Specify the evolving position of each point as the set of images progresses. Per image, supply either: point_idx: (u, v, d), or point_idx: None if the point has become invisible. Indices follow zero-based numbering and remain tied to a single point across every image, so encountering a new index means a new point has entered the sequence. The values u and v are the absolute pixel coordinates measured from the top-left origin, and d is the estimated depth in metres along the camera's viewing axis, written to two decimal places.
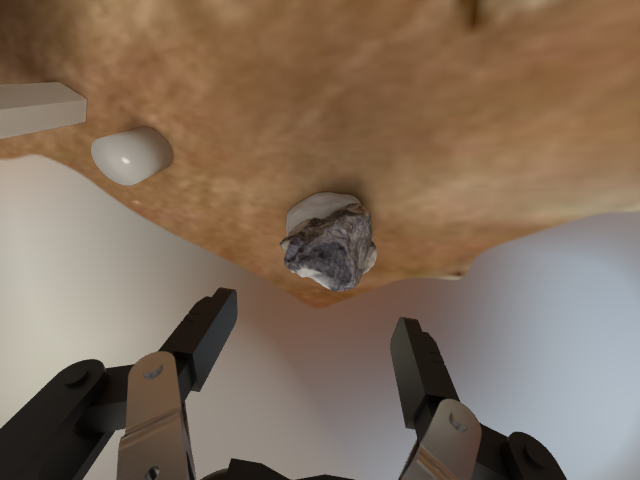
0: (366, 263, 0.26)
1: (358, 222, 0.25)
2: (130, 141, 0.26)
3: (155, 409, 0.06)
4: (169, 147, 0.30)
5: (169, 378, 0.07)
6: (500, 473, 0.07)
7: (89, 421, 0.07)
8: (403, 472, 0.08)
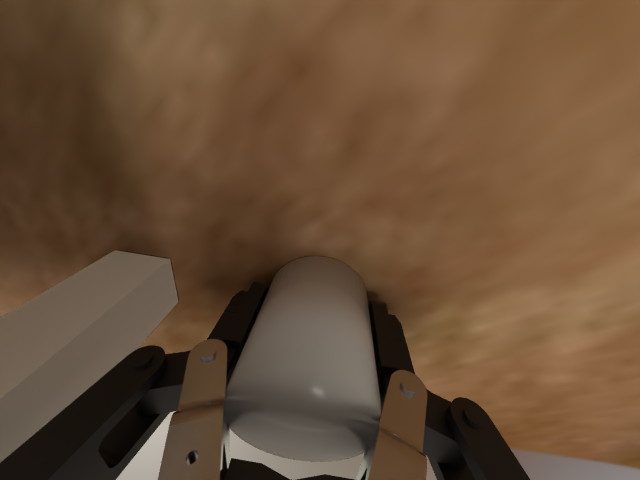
0: None
1: None
2: (320, 338, 0.08)
3: (204, 393, 0.07)
4: (360, 282, 0.12)
5: (225, 363, 0.08)
6: (441, 433, 0.07)
7: (146, 404, 0.08)
8: (367, 449, 0.08)
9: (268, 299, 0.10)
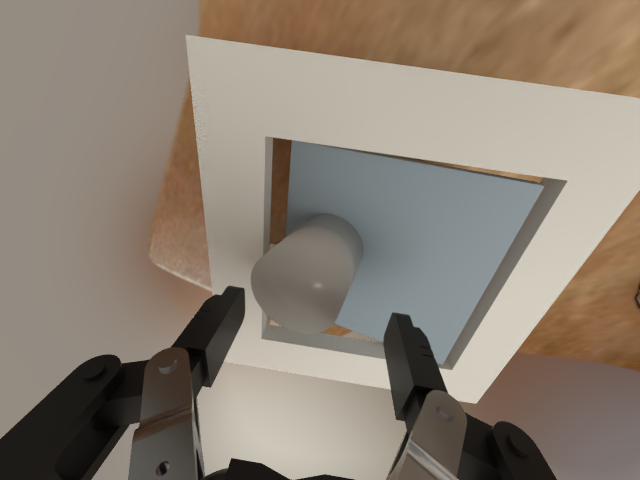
0: None
1: None
2: (309, 244, 0.12)
3: (168, 404, 0.07)
4: (357, 235, 0.16)
5: (184, 373, 0.07)
6: (484, 461, 0.07)
7: (104, 415, 0.07)
8: (394, 465, 0.08)
9: (290, 233, 0.16)
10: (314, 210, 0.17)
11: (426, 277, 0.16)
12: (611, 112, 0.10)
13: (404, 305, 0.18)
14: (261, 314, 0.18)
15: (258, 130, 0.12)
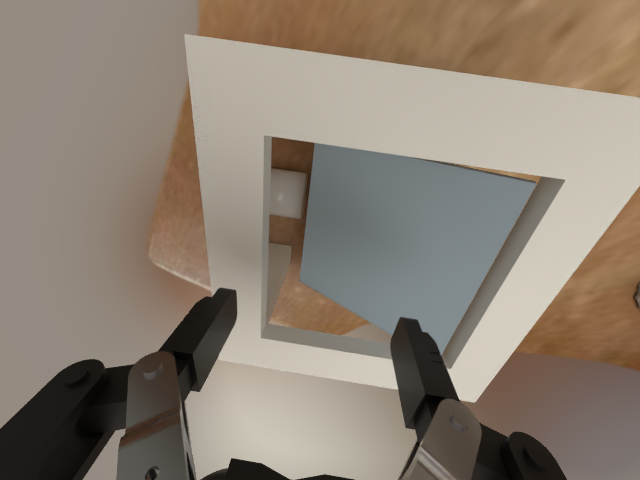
0: None
1: None
2: None
3: (155, 409, 0.06)
4: (298, 185, 0.25)
5: (169, 378, 0.07)
6: (500, 473, 0.07)
7: (89, 421, 0.07)
8: (403, 472, 0.08)
9: None
10: (329, 198, 0.20)
11: (422, 268, 0.17)
12: (609, 111, 0.10)
13: (402, 295, 0.19)
14: (260, 313, 0.18)
15: (257, 129, 0.12)
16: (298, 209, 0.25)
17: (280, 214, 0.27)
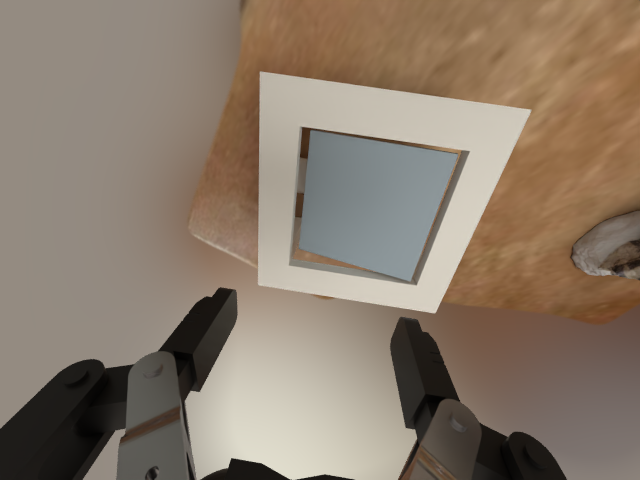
0: None
1: None
2: None
3: (155, 409, 0.06)
4: None
5: (169, 378, 0.07)
6: (500, 473, 0.07)
7: (89, 421, 0.07)
8: (403, 472, 0.08)
9: None
10: (324, 177, 0.26)
11: (397, 218, 0.25)
12: (486, 112, 0.20)
13: (383, 240, 0.27)
14: (289, 246, 0.27)
15: (296, 123, 0.21)
16: None
17: (297, 191, 0.36)
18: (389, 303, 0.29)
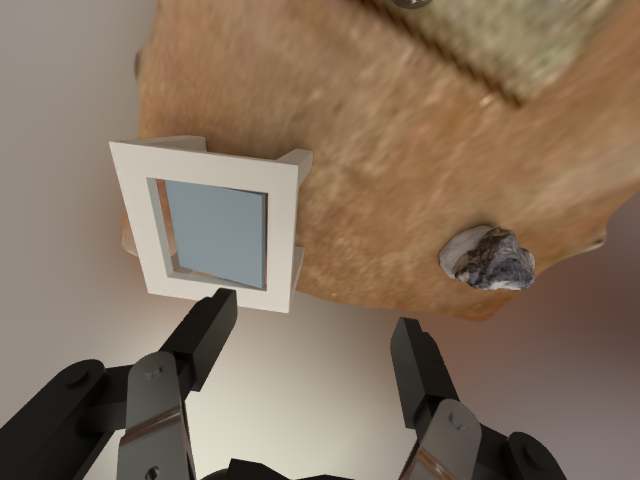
0: (530, 263, 0.37)
1: (511, 239, 0.37)
2: None
3: (155, 409, 0.06)
4: None
5: (169, 378, 0.07)
6: (500, 473, 0.07)
7: (89, 421, 0.07)
8: (403, 472, 0.08)
9: None
10: (182, 210, 0.33)
11: (238, 240, 0.33)
12: (269, 167, 0.27)
13: (235, 257, 0.34)
14: (163, 262, 0.35)
15: (142, 174, 0.29)
16: None
17: None
18: (251, 306, 0.37)
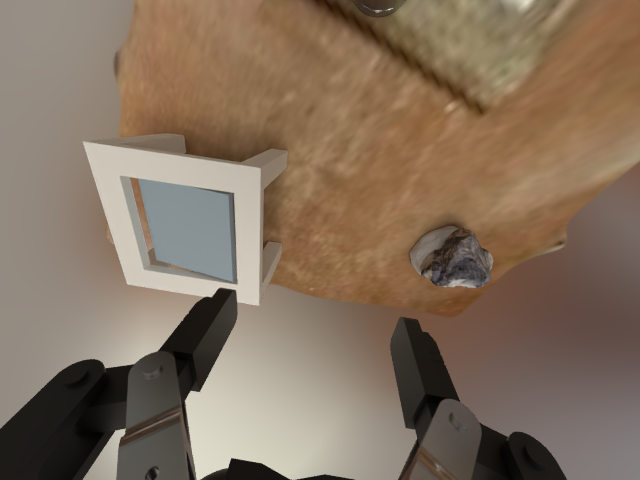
0: (488, 263, 0.39)
1: (470, 240, 0.39)
2: None
3: (155, 409, 0.06)
4: None
5: (169, 378, 0.07)
6: (500, 473, 0.07)
7: (89, 421, 0.07)
8: (403, 472, 0.08)
9: None
10: (156, 207, 0.35)
11: (209, 237, 0.35)
12: (233, 169, 0.29)
13: (207, 252, 0.36)
14: (140, 255, 0.37)
15: (116, 173, 0.31)
16: None
17: None
18: None
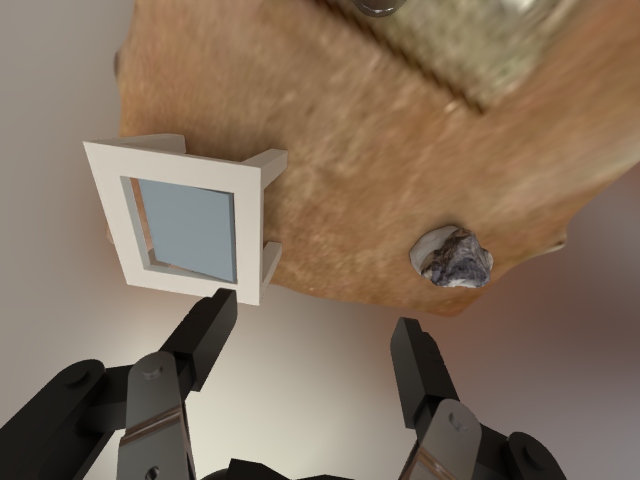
0: (488, 263, 0.39)
1: (470, 240, 0.39)
2: None
3: (155, 409, 0.06)
4: None
5: (169, 378, 0.07)
6: (500, 473, 0.07)
7: (89, 421, 0.07)
8: (403, 472, 0.08)
9: None
10: (156, 207, 0.35)
11: (209, 237, 0.35)
12: (233, 169, 0.29)
13: (207, 252, 0.36)
14: (140, 255, 0.37)
15: (116, 173, 0.31)
16: None
17: None
18: None
